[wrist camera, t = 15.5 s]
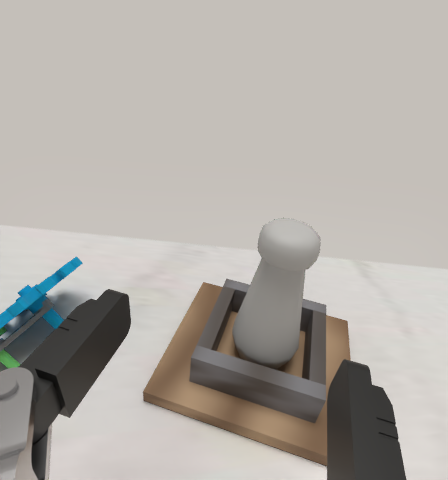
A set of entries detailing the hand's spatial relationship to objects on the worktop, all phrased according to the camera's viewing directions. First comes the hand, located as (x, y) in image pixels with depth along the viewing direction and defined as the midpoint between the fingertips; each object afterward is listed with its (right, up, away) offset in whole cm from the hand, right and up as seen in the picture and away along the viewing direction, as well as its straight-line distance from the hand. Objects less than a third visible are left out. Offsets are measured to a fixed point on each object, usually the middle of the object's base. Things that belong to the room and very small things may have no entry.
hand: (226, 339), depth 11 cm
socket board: (+3, -7, +17) cm, 19 cm away
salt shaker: (+3, -7, +17) cm, 18 cm away
